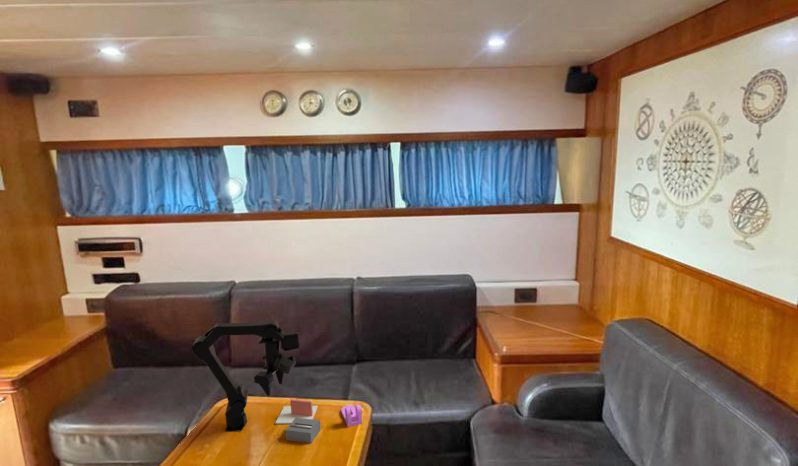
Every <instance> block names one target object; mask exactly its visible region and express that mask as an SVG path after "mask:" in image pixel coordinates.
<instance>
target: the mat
mask: <svg viewBox="0 0 798 466" xmlns="http://www.w3.org/2000/svg"><path fill="white" fill-rule="evenodd" d="M318 406H319V405H312V410H313V416H305V415H296V414H291V405H284V406H283V407H282V409H281V412H280V413H279V415H278V417H277V419H276V421H275V422H274V424H275V425H290V424H291V423H292V422H293V420H294V419H295V418H303V419H312V420H314V417H315V414H316V412H317V410H318Z"/></svg>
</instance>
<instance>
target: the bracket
mask: <svg viewBox="0 0 798 466" xmlns="http://www.w3.org/2000/svg"><path fill="white" fill-rule="evenodd" d="M361 407H362V406H361V404H355V406H354V405H351V404H348V405H344V406H342V408H341V409H340V411H341V415H342V418H343V419H344V421H345V423H346V425H347V427H348V428H350V427H354V426H358V425H362V424H363V416H362V408H361Z"/></svg>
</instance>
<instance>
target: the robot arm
mask: <svg viewBox="0 0 798 466" xmlns="http://www.w3.org/2000/svg"><path fill="white" fill-rule="evenodd" d="M224 336H228V337H229V336H230V337H231V336H257V337H260V338H259V339H258V344H263V348H264V349H263V350H264V355H263V356H262V359H263V360H264V363H265V364H264V365H263V370H266V371H259V372H257V374H255V375H254V377H253V383H254V384H259V386H260V387H261V388H262V390H263V391H264V393H265V394H266V396H268V397H270V396H271V393H272V392H271V389H272V387H271V386H272V383H273V382H274V374H275V376H276V379H277V382H278V384H279V385H282V384H283V382H284V378H285V375H286V374H287V375H289V374H290V373H291V372H292V371H293V370H294V367H295V365H296V364H297V361H296V357H295V355H293V354H291V355H290V356H288V355H284V353H283V352H281V350H280V349H282V350H283V351H284V352H287V351H298V350H299V351H300V341H299V332H298V331H293V332H289V333H288V332H287V333H285V331H283V329H282V328H281V327H280V326H279V322H278V321H277V320H276V319H275V318H267V319H261V320H259V321H256V322H226V323H223V322H218V323H216V324H215V325H214V326H212V328H209V330H208V331H206V332H205V334H203V335H199V336H198V337H196V339H195V340H194V342H193V344H192V347H191V352H192V354H193V355H194V356H195V357H196V358H197V359H198V360H199V361H201V362H203V363H205V364H206V366H207V368H208V369H209V370H210V371H211V373H212V375H213V376H214V378H215V379H216V380H217V382H218V383H219V385H220V386H221V388H222V389H223V390H224V392H225V394H226V399H227V406H226V409H225V413H224V415H225V422H226V423H225V424H226V427H225V429H224V431H225V432H241V431H243V429H244V428H245V426H246V425H247V423H248V419H247V414H246V412H245V409H246V406H247V403H248V398H249V395H248V394H249V393H248V389H246V387H245V385H244V383H241V384H240V385H239V384H237V383H236V382H235V381H234V379H233V377H232V376H231V375H230V374H229V372H228V370H227V369H226V367H225V366H224V364H223V363H222V361H221V359H219V357H218V356H217V354H216V350H215V346H214V344H215V342H216V341H217V340H218V339H219V338H220V337H224Z"/></svg>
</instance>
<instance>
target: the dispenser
mask: <svg viewBox="0 0 798 466" xmlns="http://www.w3.org/2000/svg"><path fill="white" fill-rule="evenodd" d="M320 432H321V421H320V419H313V420H312V419H303V418H295V419H294V420H293V422H292V423H291V424H288V426H287V428H286V429H285V439H286V440H287V441H291V442H292V441H293V442H300V443H305V444H306V443H307V444H312V443H313V442H314V440H315V438H317V436H318V434H319V433H320Z"/></svg>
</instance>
